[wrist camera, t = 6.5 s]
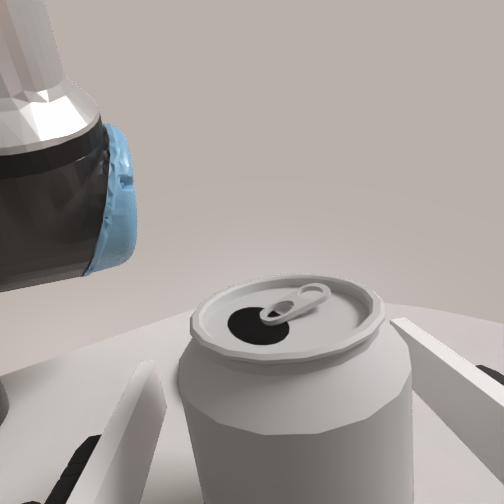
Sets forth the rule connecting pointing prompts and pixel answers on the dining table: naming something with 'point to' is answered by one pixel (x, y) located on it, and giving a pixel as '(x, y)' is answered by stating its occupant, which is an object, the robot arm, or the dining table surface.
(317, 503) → the can
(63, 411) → the dining table surface
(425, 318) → the dining table surface
